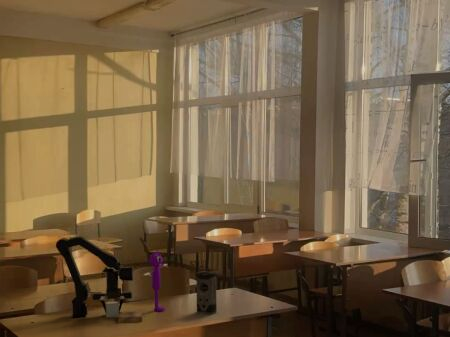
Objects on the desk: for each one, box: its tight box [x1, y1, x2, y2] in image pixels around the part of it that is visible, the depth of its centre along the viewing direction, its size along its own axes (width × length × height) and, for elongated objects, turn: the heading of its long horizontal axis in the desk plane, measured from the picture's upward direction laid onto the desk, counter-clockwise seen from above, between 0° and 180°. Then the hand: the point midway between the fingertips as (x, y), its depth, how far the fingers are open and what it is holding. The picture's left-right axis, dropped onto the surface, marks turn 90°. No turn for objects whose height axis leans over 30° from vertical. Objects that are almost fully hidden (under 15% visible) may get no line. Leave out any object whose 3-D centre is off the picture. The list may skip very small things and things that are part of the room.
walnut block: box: [117, 310, 143, 324], centre depth 290 cm, size 11×10×3 cm
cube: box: [105, 301, 120, 318], centre depth 299 cm, size 6×6×6 cm
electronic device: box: [195, 270, 218, 315], centre depth 303 cm, size 9×6×20 cm, turn 62°
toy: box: [143, 250, 168, 312], centre depth 308 cm, size 34×8×30 cm, turn 168°
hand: (112, 312), depth 299 cm, fingers closed on cube, 6 cm apart
